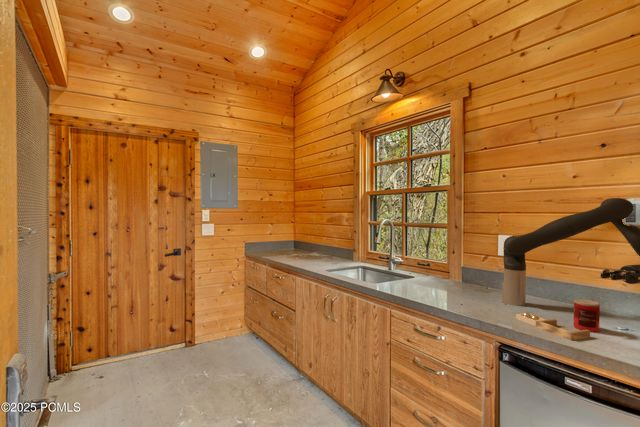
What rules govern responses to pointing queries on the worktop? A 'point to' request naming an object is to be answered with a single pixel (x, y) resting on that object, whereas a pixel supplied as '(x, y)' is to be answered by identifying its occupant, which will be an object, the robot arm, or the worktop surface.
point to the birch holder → (561, 330)
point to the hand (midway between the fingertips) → (607, 276)
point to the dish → (527, 319)
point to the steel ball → (527, 315)
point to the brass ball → (535, 317)
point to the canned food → (586, 315)
